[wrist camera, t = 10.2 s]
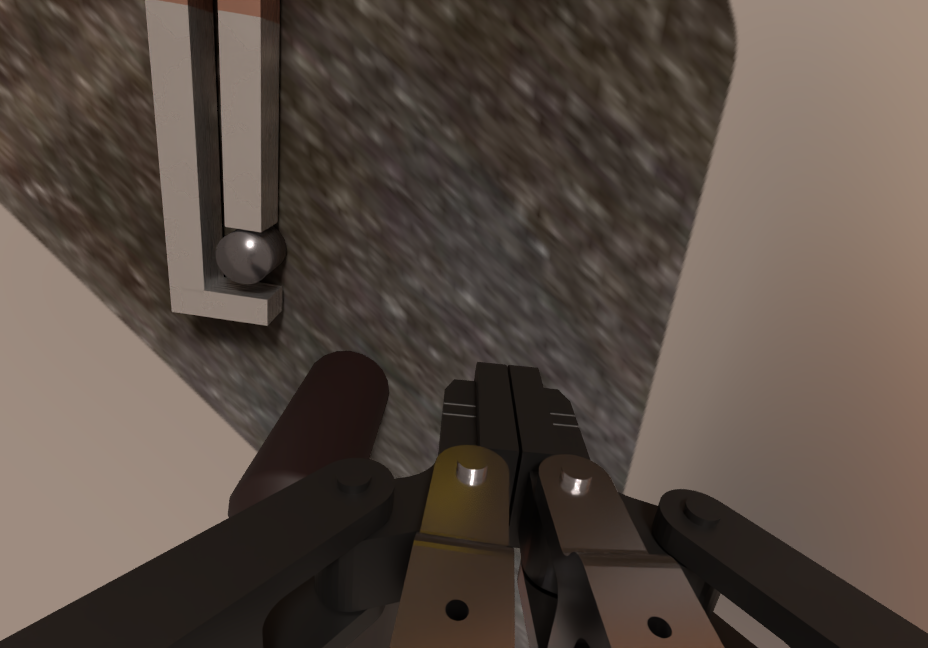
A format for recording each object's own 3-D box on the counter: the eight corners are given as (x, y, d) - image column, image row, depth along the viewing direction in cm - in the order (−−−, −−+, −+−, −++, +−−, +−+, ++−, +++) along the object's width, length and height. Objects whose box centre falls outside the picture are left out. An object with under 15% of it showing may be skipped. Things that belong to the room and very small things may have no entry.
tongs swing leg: (286, 272, 39) (268, 288, 36) (237, 265, 39) (216, 280, 36) (291, -61, 31) (270, -79, 27) (230, -72, 30) (201, -91, 27)
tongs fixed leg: (282, 309, 40) (267, 325, 37) (193, 296, 40) (171, 311, 37) (284, -63, 30) (265, -79, 28) (168, -83, 30) (136, -101, 27)
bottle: (373, 430, 45) (297, 661, 26) (298, 401, 44) (165, 619, 26) (402, 368, 42) (340, 575, 24) (323, 335, 41) (195, 525, 23)
